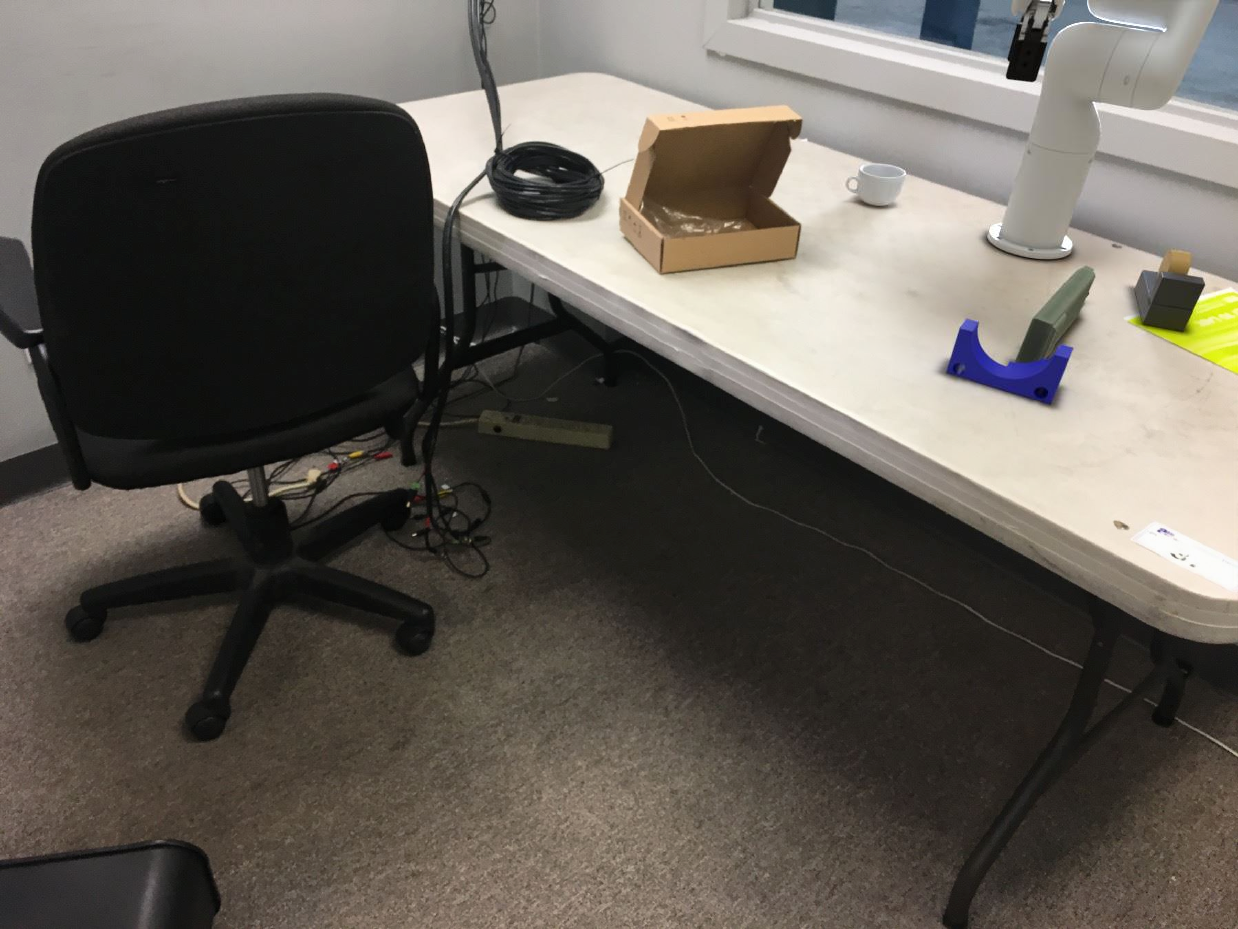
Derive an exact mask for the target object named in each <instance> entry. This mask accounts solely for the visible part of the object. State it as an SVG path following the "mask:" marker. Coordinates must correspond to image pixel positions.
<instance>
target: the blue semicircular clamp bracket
mask: <svg viewBox="0 0 1238 929" xmlns="http://www.w3.org/2000/svg"><path fill="white" fill-rule="evenodd" d="M979 324H980V321H977V320H974V319H971V318H965V319H964V321H963V322H962V324H961V325H960V327H959V328H958V332H957V334H956V339H955V342H954V345H953V347H952V351H951V355H950V358H949V361H948V365H947V368H946V372H945V373H946V374H949V375H953V376H956V377H958V378H962V379H966V380H969V381H972V382H976V383H979V384H982V385H985V386H989V387H992V388H995V389H999V390H1002V391H1006V392H1008V393H1012V394H1016V395H1018V396H1021V397H1025V398H1028V399H1032V400H1035V401H1038V402H1040V403H1041V402H1042V403H1044V404H1047V405H1052V403H1053V401H1054V399H1055V395H1056V393H1057V392H1058V389H1059V387H1060V384H1061V382H1062V378H1063V377H1064V374H1065V371H1066V368H1067V366H1068V363H1069V361H1070V358H1071V356H1072V353H1073V351H1074V347H1072V346H1069V345H1065V344H1061V343H1059V345H1058V347H1057V349H1056V350H1055V351H1054V353H1052V355H1051V356H1050V357H1048V358H1046V359H1041V360H1039V361H1035V362H1031V363H1015V361H1009V362H1008V363H1007V365H1004V364H1001V363H999V362H998V361H996V360H994V359H993V358H992V357H990V356H989V355H988V354H987V352H986V351H985V349H983V347H982V345H981V342H980V339H979Z"/></svg>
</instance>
